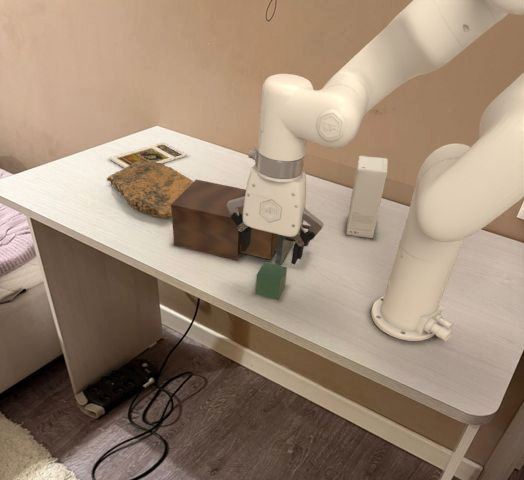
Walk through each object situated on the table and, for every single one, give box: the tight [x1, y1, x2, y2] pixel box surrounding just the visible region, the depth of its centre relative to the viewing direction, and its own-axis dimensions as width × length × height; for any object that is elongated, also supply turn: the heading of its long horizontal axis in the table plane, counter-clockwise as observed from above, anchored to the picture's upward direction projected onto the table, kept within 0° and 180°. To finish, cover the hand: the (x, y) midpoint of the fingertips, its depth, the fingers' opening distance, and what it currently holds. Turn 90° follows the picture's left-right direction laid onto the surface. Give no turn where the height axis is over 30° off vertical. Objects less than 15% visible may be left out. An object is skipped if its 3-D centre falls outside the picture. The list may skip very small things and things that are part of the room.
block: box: [255, 261, 288, 300], centre depth 94 cm, size 5×5×5 cm
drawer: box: [239, 214, 312, 266], centre depth 102 cm, size 18×11×8 cm, turn 72°
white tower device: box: [345, 155, 389, 239], centre depth 109 cm, size 8×7×16 cm
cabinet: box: [171, 179, 246, 261], centre depth 104 cm, size 15×13×10 cm
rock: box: [106, 161, 194, 219], centre depth 118 cm, size 25×6×20 cm
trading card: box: [109, 142, 187, 169], centre depth 136 cm, size 11×1×18 cm
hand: (270, 254), depth 90 cm, fingers open, 9 cm apart
